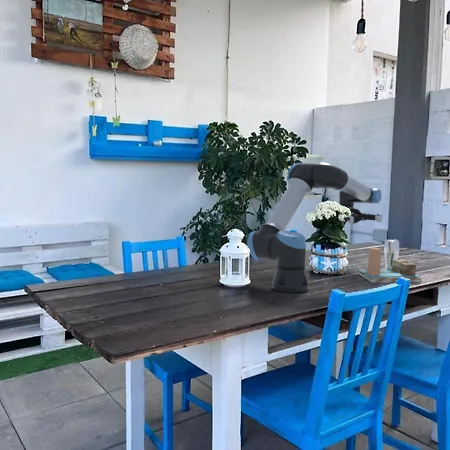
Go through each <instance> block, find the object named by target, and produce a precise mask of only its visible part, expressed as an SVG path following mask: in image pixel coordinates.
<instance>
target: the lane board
mask: <svg viewBox="0 0 450 450" xmlns="http://www.w3.org/2000/svg"><path fill="white" fill-rule="evenodd" d="M366 273H368V268H367V269H365V268H364V269H357V274H358V275H359V276H361V277H363V278H364V279H366V280H367V281H369V282H370V283H373V284H374V283H375V284H376V283H378V284H380V283H382V284H383V283H385V284H386V283H388V284H389V283H397V282H396V280H397V278H372V279H370V278H368V277H367V276H366ZM380 273H400V272H397V271H393V270H392V269H384V268H383V269H382V268H380ZM404 278H407V279H410V280H411V282H410V283H422V276H420V277H404Z"/></svg>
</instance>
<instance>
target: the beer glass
mask: <svg viewBox="0 0 450 450" xmlns="http://www.w3.org/2000/svg"><path fill="white" fill-rule="evenodd" d="M383 246H384V247H383V251H384V252H383V253H384V259H385V262H384V265H385V266H384V268H383V269H392V260H396V259H399V253H400V240H397V239H384V245H383Z"/></svg>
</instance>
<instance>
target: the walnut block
mask: <svg viewBox="0 0 450 450" xmlns="http://www.w3.org/2000/svg"><path fill="white" fill-rule="evenodd" d="M416 269H417V264H416V263H413V262H408V263H400V274H402V275H404V276H415V275H417V274H416V272H417V271H416Z"/></svg>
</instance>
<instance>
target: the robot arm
mask: <svg viewBox="0 0 450 450" xmlns="http://www.w3.org/2000/svg"><path fill="white" fill-rule="evenodd" d="M286 174H287V176H286V181H287V189H286V190H285V192H284V193H283V195H282V196H281V199H280V200H279V202H278V204H277V206H276V207H275V208H274V210H273V212H272V214H271V216H270V217H269V219H268V221H267V222H266V223H263V224H261V225H260V227H259V229H258V230H254V231H252V232H251V233H250V232H249V233H250V234H249V235H248V237H247V240H246V241H247V242H246V244H247V245H246V246H247V249H248V248H249V249H250V253H249V254H250V256H252V257H253V258H256V259H259V260H265V261H273V262H276V270H275V272H274V273H275V274H274V276H273V279H272V282H271V284H272V286H271V288H272V289H273V290H275V291H277V292H281V293H282V292H283V293H301V292H302V293H304V292H307V291H309V290H310V283H309V280H308V276H307V272H306V248H307V244H306V243H307V242H306V241H307V240H306V237H305V235H304V234H302V233H300V232H298V231H297V232H296V231H289V230H286V229H287V228H288V226H289V225H290V223H291V221H292V219H293V218H294V216H295V214H296V211H297V210H298V208H299V207H300V206H301V203H302V202H303V199H304V198H305V196H309V195H310V194H311V192H312V190H313V189H333V190H334V191H338V193H339V194H338V195H339V199H338V201H339V202H338V205H339V204H340V205H342V206H345V207H347V208H349V209H350V211H351V215H350V216H349V217H346V218H345V219H344V220H345V221H344V223H348V224H357V223H359V222H360V221H365V222H366V221H367V220H368V221H374V222H378V223H382V222H383V215H382V214H379V213H377V214H371V213H364V212H363V213H362V212H361V211H360V210H359V209H358V208H354V207H355V206H354V204H355V203H359V204H360V203H361V204H379V203H380V202H381V200H382V191H381V189H380V188H375V187H373V188H371V187H369V186H368V185H365V184H364V183H362V182H360V181H358V180H356V179H354V178H353V177H352V176H350V175H348V173H347V172H346V171H345V170H344V169H342V168H340V167H338V166H335V165H333V164H331V163H328V162H297V163H294V164H291V166H290V167H289V168H288V171H287V173H286Z"/></svg>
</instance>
